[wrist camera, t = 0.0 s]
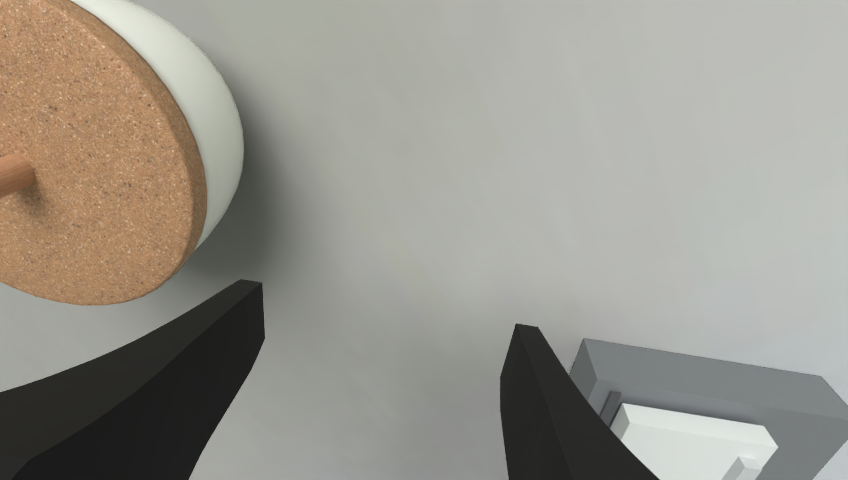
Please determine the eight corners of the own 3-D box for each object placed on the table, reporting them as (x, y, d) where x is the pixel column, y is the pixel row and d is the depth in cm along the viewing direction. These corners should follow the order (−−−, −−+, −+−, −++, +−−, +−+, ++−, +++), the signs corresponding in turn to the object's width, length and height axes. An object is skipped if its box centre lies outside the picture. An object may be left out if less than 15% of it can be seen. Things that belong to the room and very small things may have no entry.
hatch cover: (711, 498, 25) (726, 531, 24) (585, 477, 26) (593, 509, 24) (763, 426, 23) (786, 458, 21) (622, 402, 23) (633, 433, 21)
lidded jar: (329, 144, 21) (239, 242, 13) (180, 251, 25) (35, 380, 16) (148, -87, 17) (-141, -158, 9) (3, 78, 21) (-298, 134, 13)
